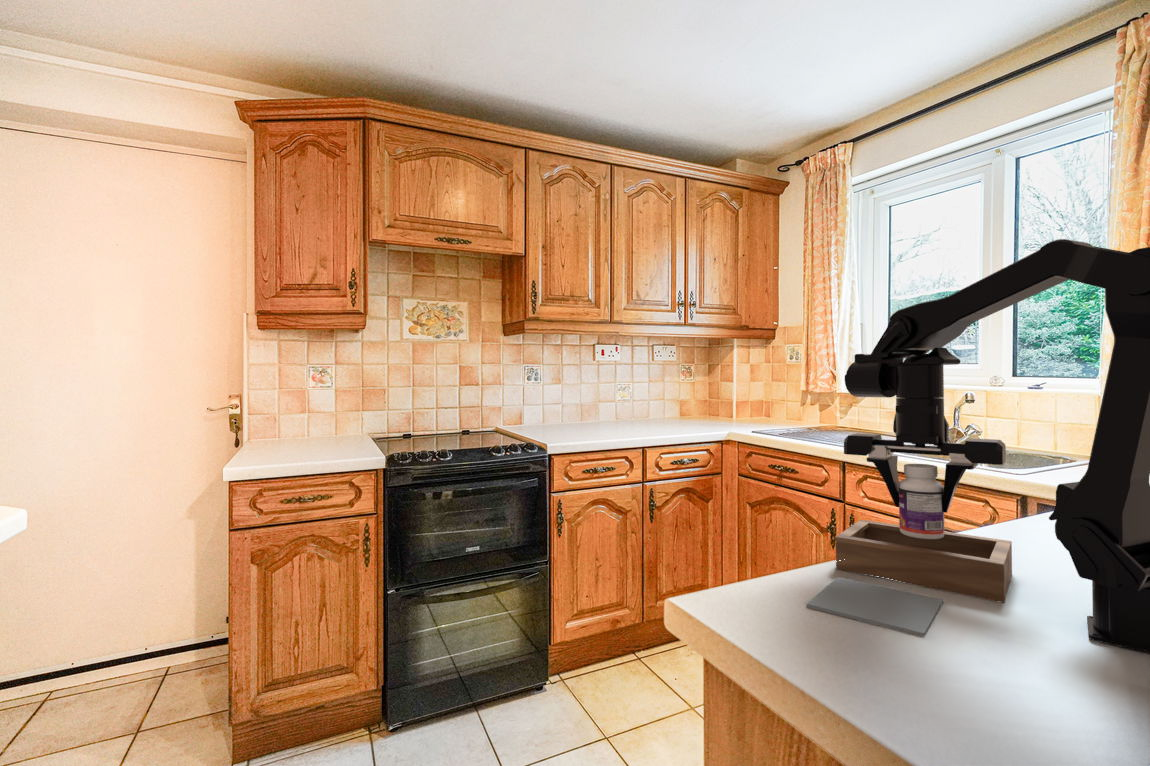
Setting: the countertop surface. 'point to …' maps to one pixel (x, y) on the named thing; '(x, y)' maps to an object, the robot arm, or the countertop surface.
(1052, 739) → the countertop surface
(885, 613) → the mat
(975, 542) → the slot box
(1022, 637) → the countertop surface
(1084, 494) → the robot arm
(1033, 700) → the countertop surface
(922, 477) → the pill bottle
